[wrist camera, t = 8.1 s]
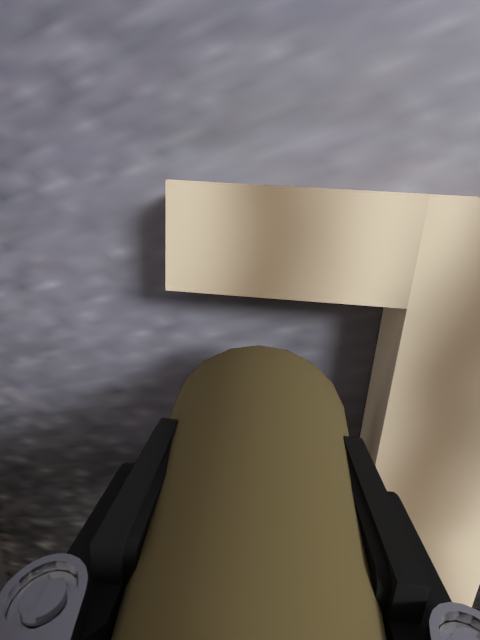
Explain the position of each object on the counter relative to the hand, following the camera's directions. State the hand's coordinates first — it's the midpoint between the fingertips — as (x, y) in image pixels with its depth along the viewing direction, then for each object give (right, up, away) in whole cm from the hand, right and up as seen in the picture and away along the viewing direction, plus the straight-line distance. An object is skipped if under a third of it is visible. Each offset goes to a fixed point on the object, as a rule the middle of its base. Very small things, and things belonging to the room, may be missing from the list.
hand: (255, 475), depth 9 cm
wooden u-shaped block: (+3, +1, +5) cm, 6 cm away
